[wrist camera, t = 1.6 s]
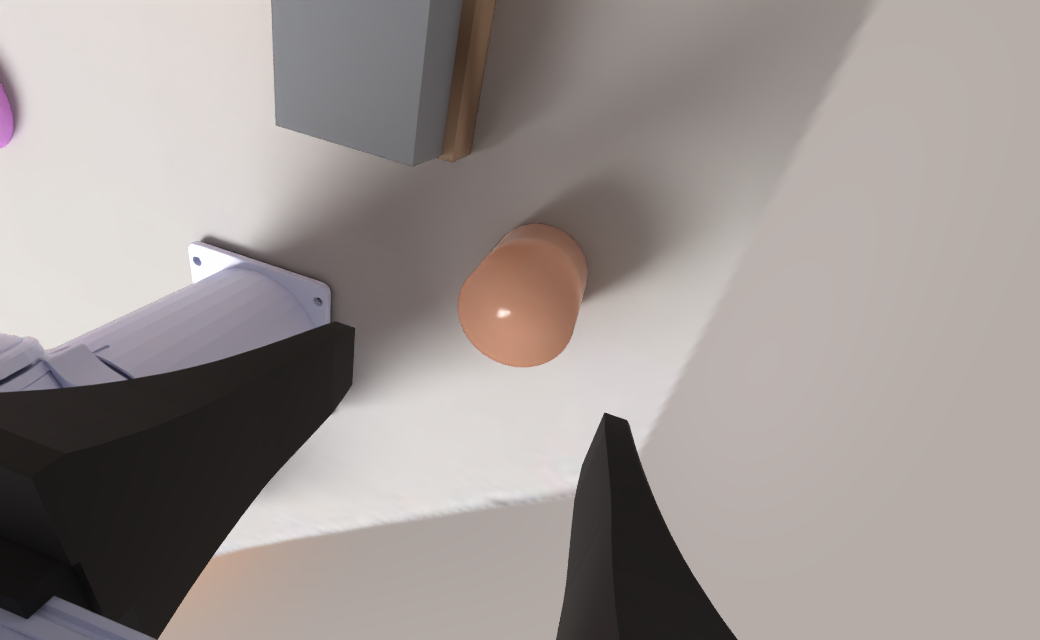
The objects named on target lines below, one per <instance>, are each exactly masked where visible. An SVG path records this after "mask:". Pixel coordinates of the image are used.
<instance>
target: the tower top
mask: <svg viewBox="0 0 1040 640" xmlns="http://www.w3.org/2000/svg"><path fill="white" fill-rule="evenodd" d="M462 2H463V0H271V7H272V34H273V62H274V90H275V117H276V126H279V127H283V128H286V129H289V130H293V131H296V132H299V133H303V134H306V135H309V136H313V137H316V138H319V139H323V140H326V141H329V142H333V143H336V144H339V145H343V146H346V147H349V148H353V149H356V150H359V151H363V152H366V153H369V154H373V155H376V156H379V157H383V158H386V159H389V160H393V161H396V162H399V163H403V164H406V165H409V166H415V165H418V164H420V163H423V162H426V161H428V160H431V159H434V158H436V157H439V156H442V149H443V142H444V135H445V127H446V120H447V113H448V105H449V98H450V91H451V83H452V76H453V69H454V62H455V54H456V47H457V40H458V32H459V25H460V17H461V10H462Z"/></svg>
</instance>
